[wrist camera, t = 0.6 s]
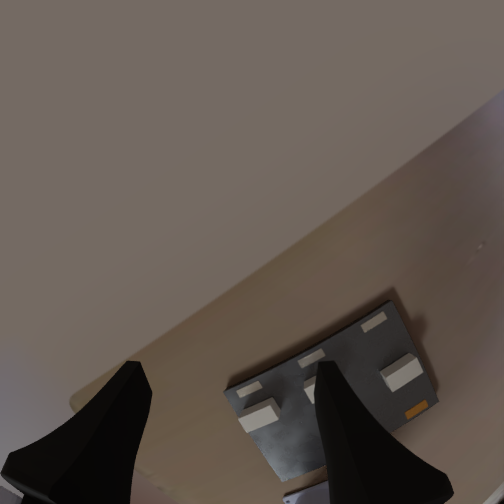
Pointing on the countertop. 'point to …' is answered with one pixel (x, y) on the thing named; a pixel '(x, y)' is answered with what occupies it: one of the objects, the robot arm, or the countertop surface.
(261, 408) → the block
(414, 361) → the block
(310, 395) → the block
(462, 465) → the countertop surface
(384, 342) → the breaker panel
